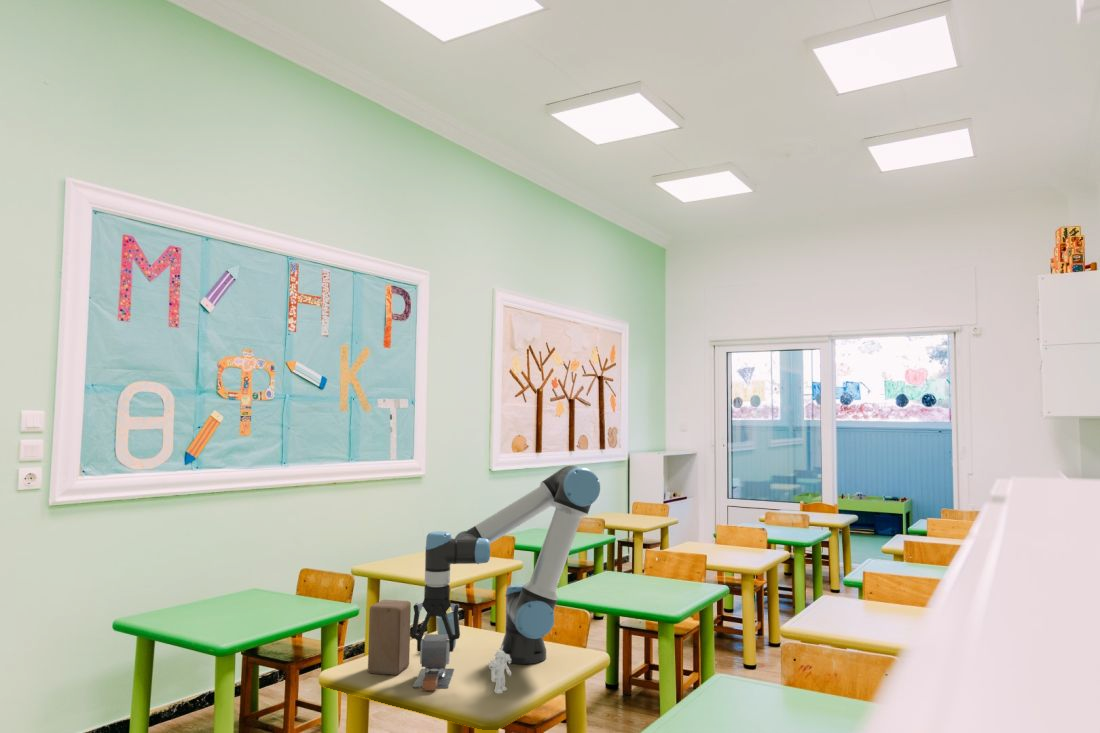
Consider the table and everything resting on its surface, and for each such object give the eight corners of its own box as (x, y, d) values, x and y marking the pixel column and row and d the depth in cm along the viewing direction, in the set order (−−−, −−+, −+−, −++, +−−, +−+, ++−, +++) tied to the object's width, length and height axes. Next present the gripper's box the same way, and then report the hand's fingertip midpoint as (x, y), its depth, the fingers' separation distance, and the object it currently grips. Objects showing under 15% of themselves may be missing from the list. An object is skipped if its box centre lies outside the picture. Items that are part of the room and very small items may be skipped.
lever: (454, 669, 227) (454, 645, 227) (446, 691, 208) (447, 664, 208) (421, 669, 226) (422, 645, 227) (411, 691, 208) (411, 664, 208)
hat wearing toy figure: (503, 684, 214) (504, 642, 215) (514, 687, 212) (515, 644, 213) (484, 694, 206) (485, 650, 207) (496, 696, 204) (496, 652, 205)
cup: (455, 650, 246) (455, 618, 247) (432, 649, 247) (433, 618, 248) (461, 644, 254) (461, 613, 254) (439, 643, 255) (440, 612, 256)
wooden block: (397, 676, 220) (399, 607, 222) (366, 673, 222) (368, 606, 224) (410, 666, 230) (412, 600, 232) (380, 663, 232) (382, 598, 234)
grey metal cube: (445, 667, 218) (445, 641, 218) (421, 667, 217) (422, 640, 218) (448, 659, 225) (448, 634, 225) (425, 659, 224) (425, 634, 225)
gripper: (471, 582, 227) (469, 659, 225) (406, 581, 226) (403, 658, 224) (469, 587, 219) (467, 666, 217) (401, 586, 219) (399, 666, 217)
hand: (435, 662), depth 221 cm, fingers closed on grey metal cube, 7 cm apart
